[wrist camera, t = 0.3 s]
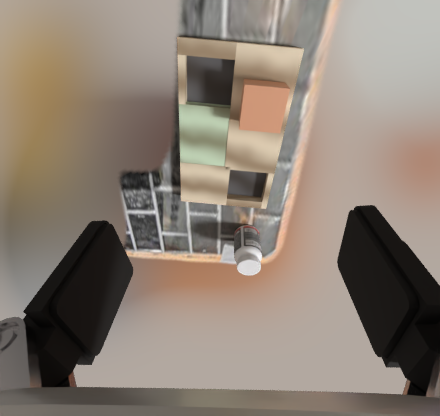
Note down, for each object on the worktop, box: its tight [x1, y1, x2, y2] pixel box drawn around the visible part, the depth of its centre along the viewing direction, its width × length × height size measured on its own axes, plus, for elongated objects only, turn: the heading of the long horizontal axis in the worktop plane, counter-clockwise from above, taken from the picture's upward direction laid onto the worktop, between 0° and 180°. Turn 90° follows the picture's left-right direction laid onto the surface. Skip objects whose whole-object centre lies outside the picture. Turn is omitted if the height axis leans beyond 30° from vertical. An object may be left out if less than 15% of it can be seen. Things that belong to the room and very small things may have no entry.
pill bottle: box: [234, 225, 262, 275], centre depth 52 cm, size 6×6×10 cm
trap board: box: [177, 36, 304, 209], centre depth 42 cm, size 27×17×2 cm, turn 176°
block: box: [239, 79, 290, 133], centre depth 36 cm, size 6×6×4 cm
